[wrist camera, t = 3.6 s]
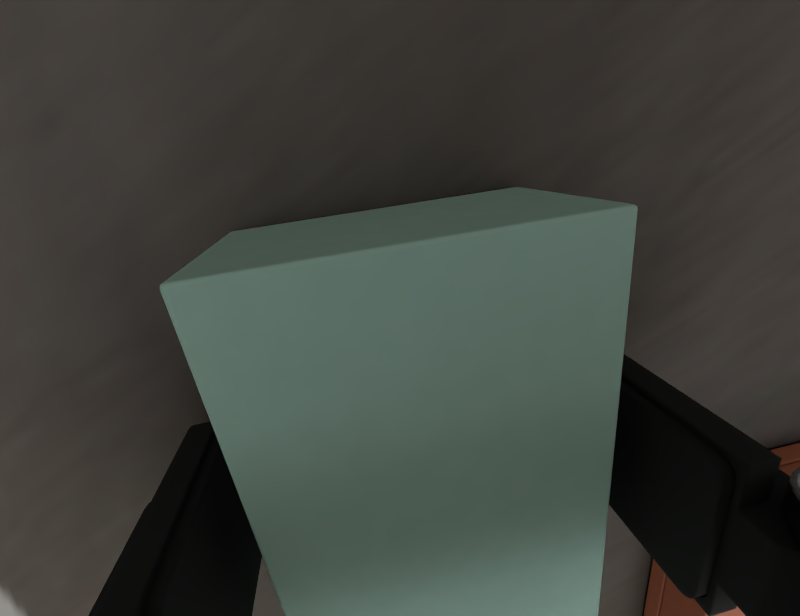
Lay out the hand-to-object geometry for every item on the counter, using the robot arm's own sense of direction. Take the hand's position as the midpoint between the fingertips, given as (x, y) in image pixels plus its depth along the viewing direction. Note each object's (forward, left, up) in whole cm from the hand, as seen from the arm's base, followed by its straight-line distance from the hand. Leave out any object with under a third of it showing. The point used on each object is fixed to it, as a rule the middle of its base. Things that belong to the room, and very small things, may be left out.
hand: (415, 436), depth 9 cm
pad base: (0, 0, -1) cm, 1 cm away
